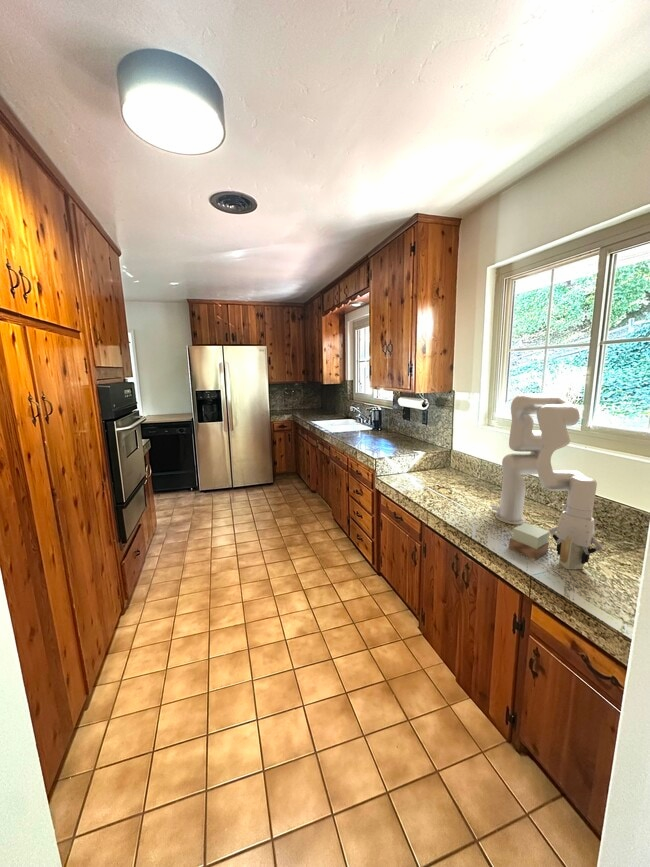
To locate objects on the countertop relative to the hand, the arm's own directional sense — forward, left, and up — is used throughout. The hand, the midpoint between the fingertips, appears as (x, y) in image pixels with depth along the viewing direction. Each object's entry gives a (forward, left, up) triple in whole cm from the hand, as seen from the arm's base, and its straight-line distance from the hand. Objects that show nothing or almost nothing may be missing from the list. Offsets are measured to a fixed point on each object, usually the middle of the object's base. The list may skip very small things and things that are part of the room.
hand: (571, 557), depth 123 cm
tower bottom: (-14, -1, -4) cm, 15 cm away
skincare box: (0, 0, -3) cm, 3 cm away
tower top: (-14, -1, +1) cm, 14 cm away
